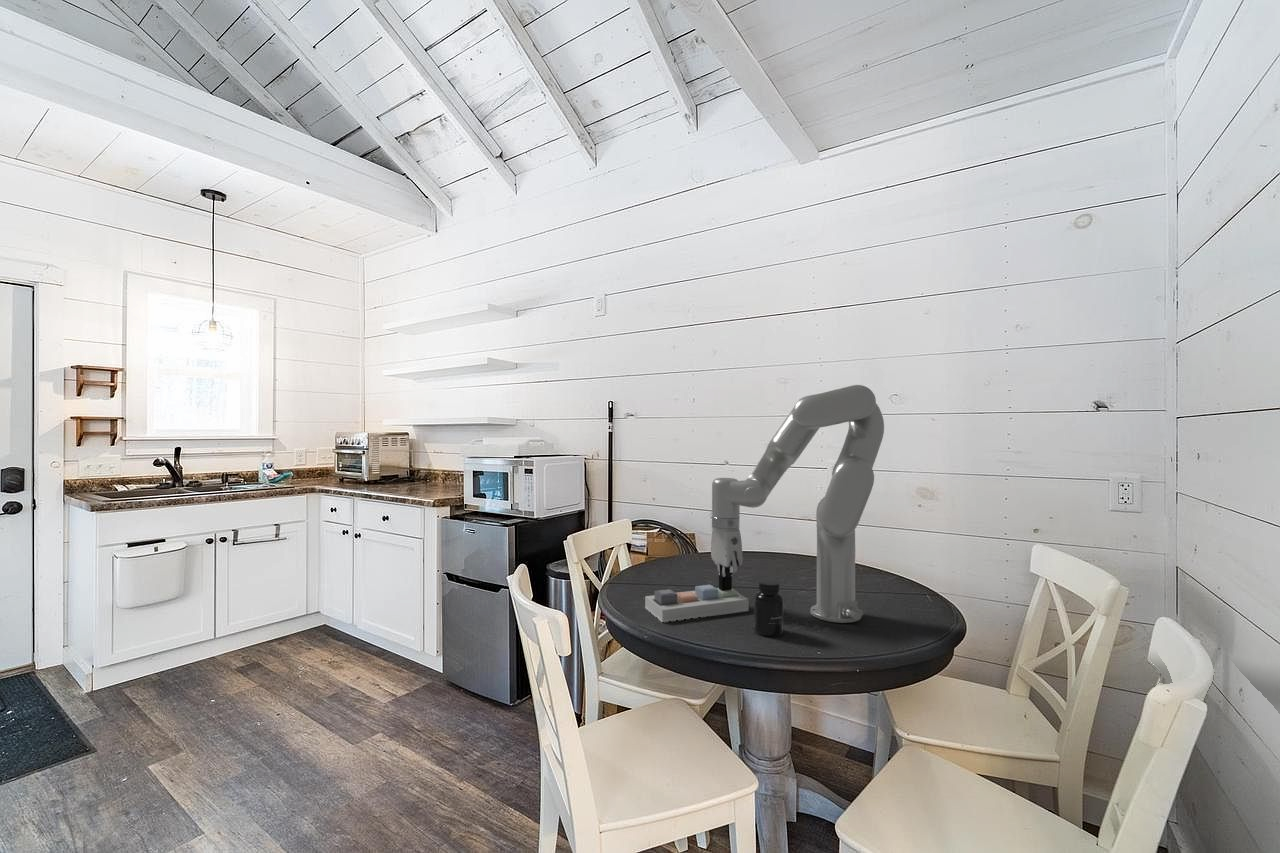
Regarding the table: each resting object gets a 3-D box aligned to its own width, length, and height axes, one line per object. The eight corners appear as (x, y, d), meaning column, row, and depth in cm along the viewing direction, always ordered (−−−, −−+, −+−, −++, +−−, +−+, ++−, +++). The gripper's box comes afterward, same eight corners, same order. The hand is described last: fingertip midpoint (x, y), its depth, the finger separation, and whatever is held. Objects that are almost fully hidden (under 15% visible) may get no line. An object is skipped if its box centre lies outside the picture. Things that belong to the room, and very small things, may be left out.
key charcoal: (677, 605, 151) (677, 593, 150) (661, 607, 149) (661, 595, 149) (670, 600, 155) (670, 588, 155) (654, 602, 153) (654, 590, 153)
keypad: (748, 610, 154) (748, 599, 154) (662, 622, 145) (662, 610, 145) (726, 597, 165) (726, 586, 165) (645, 608, 156) (645, 596, 156)
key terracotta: (697, 607, 153) (697, 595, 153) (682, 609, 151) (682, 597, 151) (690, 602, 157) (690, 591, 157) (675, 604, 155) (675, 592, 155)
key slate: (718, 600, 155) (718, 588, 155) (702, 602, 153) (702, 590, 153) (710, 595, 159) (710, 584, 159) (695, 597, 157) (695, 585, 157)
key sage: (737, 602, 157) (737, 591, 157) (722, 604, 155) (722, 592, 155) (729, 597, 161) (729, 586, 161) (714, 599, 160) (714, 588, 160)
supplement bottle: (777, 639, 134) (777, 588, 134) (750, 633, 137) (750, 583, 137) (787, 630, 140) (787, 581, 140) (760, 625, 143) (760, 577, 143)
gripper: (751, 527, 152) (751, 596, 153) (724, 518, 166) (724, 581, 167) (726, 528, 150) (726, 599, 150) (701, 519, 164) (700, 583, 164)
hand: (725, 589), depth 158 cm, fingers closed
